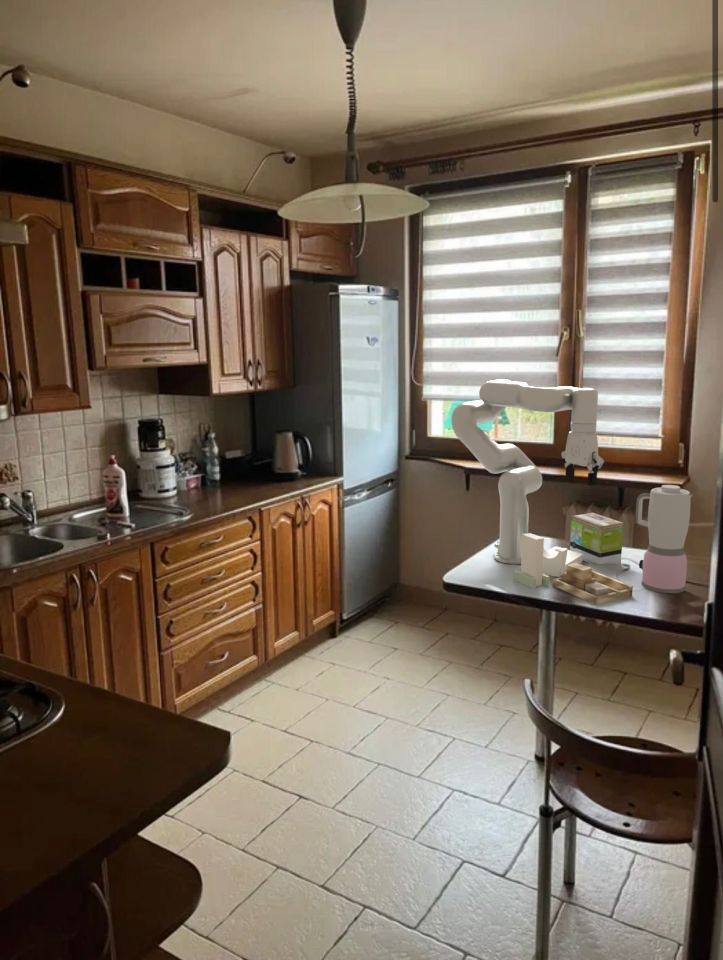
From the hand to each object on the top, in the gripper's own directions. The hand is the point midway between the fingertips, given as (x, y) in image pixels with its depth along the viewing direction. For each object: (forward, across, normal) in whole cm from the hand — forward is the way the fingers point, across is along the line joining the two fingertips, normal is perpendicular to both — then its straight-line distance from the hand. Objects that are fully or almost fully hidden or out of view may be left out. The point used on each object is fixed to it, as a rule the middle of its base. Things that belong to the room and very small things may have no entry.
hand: (580, 482), depth 224 cm
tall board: (+29, +2, -20) cm, 36 cm away
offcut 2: (+29, +13, -11) cm, 34 cm away
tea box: (+31, -8, +16) cm, 35 cm away
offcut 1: (+25, +13, -11) cm, 30 cm away
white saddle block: (+31, -6, -3) cm, 31 cm away
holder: (+30, +2, -20) cm, 36 cm away
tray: (+30, +16, -9) cm, 35 cm away
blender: (+31, +22, +12) cm, 39 cm away
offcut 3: (+29, +21, -12) cm, 38 cm away
